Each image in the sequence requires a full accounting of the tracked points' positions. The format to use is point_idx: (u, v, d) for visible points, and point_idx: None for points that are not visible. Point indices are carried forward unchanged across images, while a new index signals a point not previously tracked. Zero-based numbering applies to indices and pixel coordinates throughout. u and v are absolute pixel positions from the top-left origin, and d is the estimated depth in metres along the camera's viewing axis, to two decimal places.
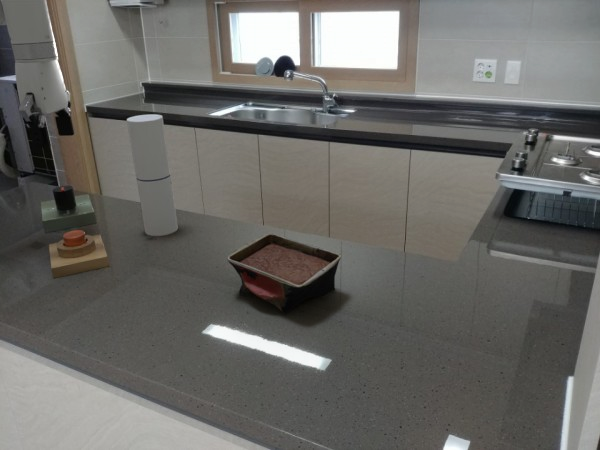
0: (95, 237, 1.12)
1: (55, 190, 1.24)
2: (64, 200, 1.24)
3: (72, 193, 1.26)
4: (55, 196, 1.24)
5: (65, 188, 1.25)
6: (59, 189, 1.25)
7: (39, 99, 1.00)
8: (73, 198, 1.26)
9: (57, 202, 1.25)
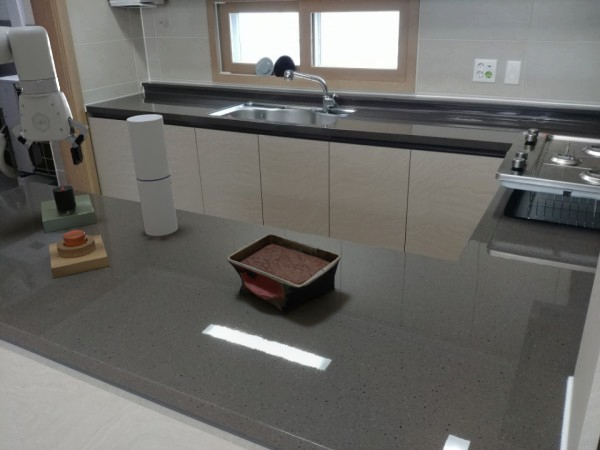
0: (95, 237, 1.12)
1: (55, 190, 1.24)
2: (64, 200, 1.24)
3: (72, 193, 1.26)
4: (55, 196, 1.24)
5: (65, 188, 1.25)
6: (59, 189, 1.25)
7: None
8: (73, 198, 1.26)
9: (57, 202, 1.25)
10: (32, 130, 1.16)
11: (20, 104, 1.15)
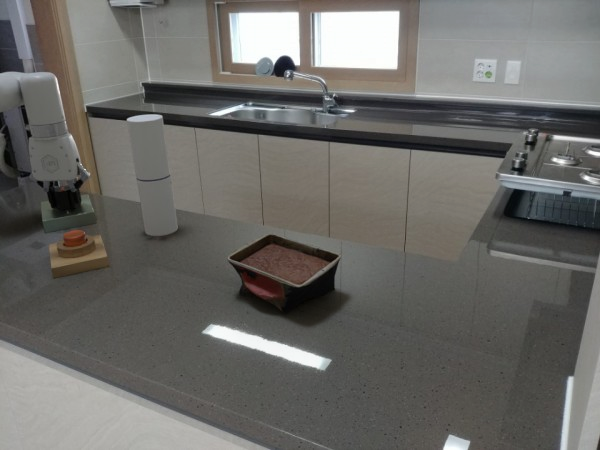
0: (95, 237, 1.12)
1: (55, 190, 1.24)
2: (64, 200, 1.24)
3: None
4: (55, 196, 1.24)
5: (65, 188, 1.25)
6: (59, 189, 1.25)
7: (80, 161, 1.24)
8: None
9: (57, 202, 1.25)
10: (41, 171, 1.21)
11: (30, 146, 1.19)
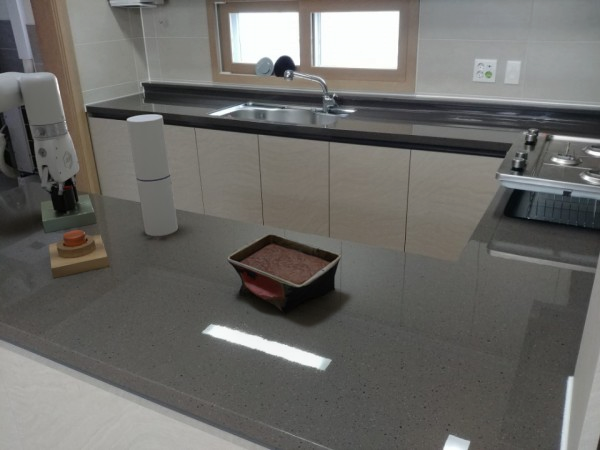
0: (95, 237, 1.12)
1: (65, 189, 1.24)
2: (74, 196, 1.27)
3: None
4: (69, 195, 1.25)
5: None
6: (64, 189, 1.25)
7: None
8: None
9: (71, 200, 1.25)
10: (64, 170, 1.21)
11: (54, 147, 1.17)
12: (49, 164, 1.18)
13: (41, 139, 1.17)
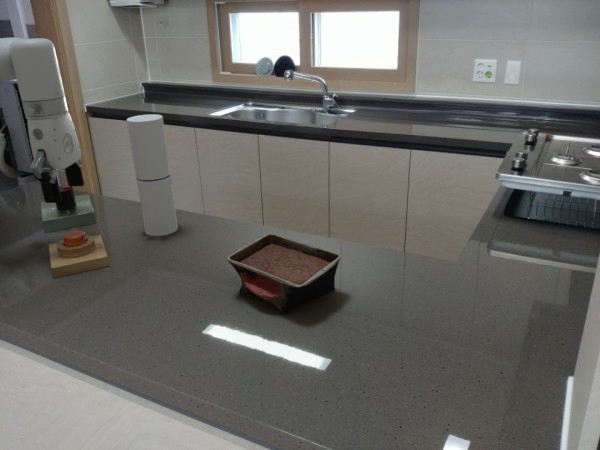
0: (95, 237, 1.12)
1: (65, 189, 1.24)
2: (74, 196, 1.27)
3: None
4: (69, 195, 1.25)
5: None
6: (64, 189, 1.25)
7: None
8: None
9: (71, 200, 1.25)
10: (64, 155, 1.02)
11: (52, 128, 0.98)
12: (46, 148, 0.99)
13: (36, 118, 0.98)
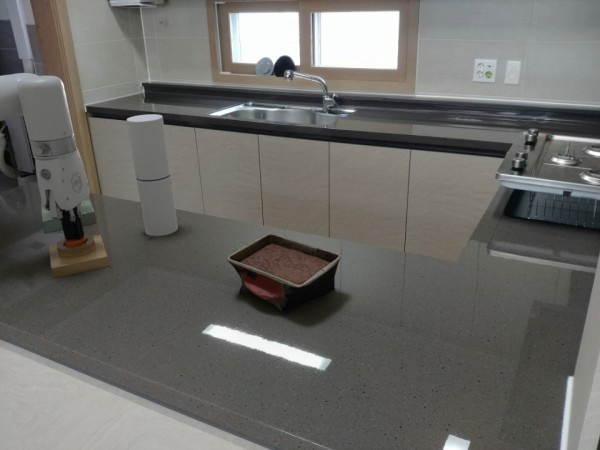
0: (95, 237, 1.12)
1: None
2: None
3: None
4: None
5: None
6: None
7: None
8: None
9: None
10: (72, 195, 0.99)
11: (60, 168, 0.95)
12: (54, 189, 0.96)
13: (44, 158, 0.95)
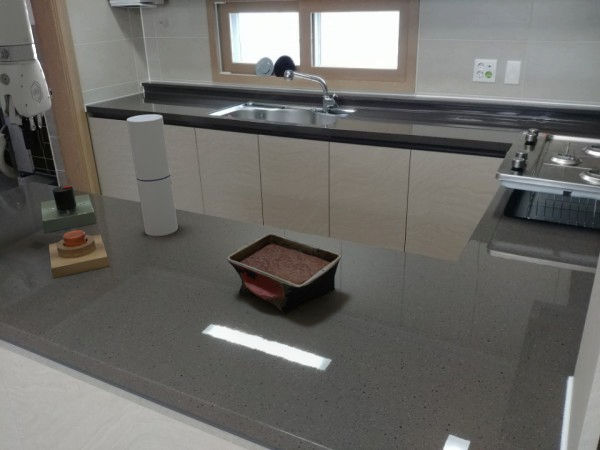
0: (95, 237, 1.12)
1: (65, 189, 1.24)
2: (74, 196, 1.27)
3: None
4: (69, 195, 1.25)
5: None
6: (64, 189, 1.25)
7: None
8: None
9: (71, 200, 1.25)
10: (31, 103, 1.03)
11: (19, 74, 0.99)
12: (13, 94, 1.00)
13: (4, 63, 0.99)
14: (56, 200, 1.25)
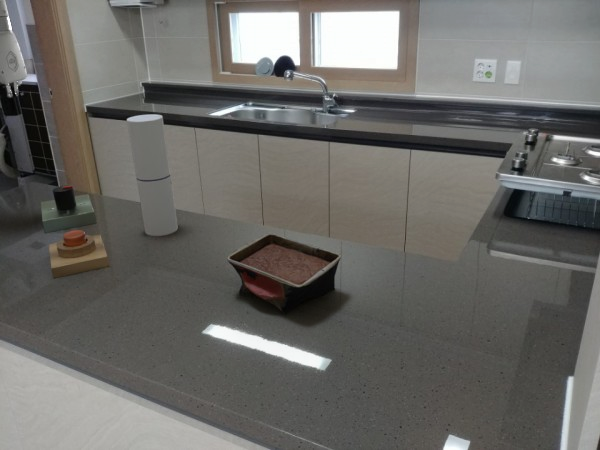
0: (95, 237, 1.12)
1: (65, 189, 1.24)
2: (74, 196, 1.27)
3: None
4: (69, 195, 1.25)
5: None
6: (64, 189, 1.25)
7: None
8: None
9: (71, 200, 1.25)
10: (7, 71, 1.12)
11: None
12: None
13: None
14: (56, 200, 1.25)
